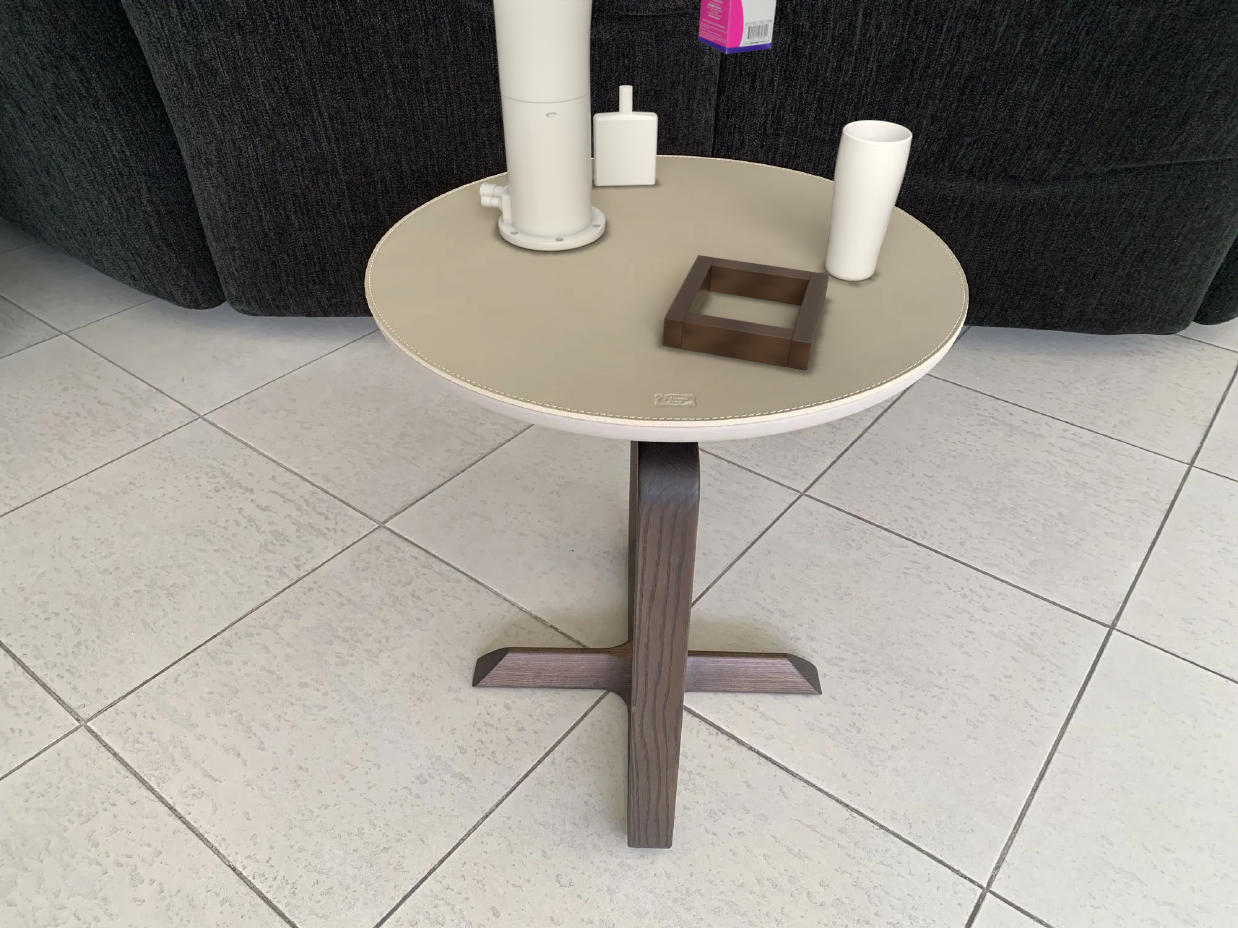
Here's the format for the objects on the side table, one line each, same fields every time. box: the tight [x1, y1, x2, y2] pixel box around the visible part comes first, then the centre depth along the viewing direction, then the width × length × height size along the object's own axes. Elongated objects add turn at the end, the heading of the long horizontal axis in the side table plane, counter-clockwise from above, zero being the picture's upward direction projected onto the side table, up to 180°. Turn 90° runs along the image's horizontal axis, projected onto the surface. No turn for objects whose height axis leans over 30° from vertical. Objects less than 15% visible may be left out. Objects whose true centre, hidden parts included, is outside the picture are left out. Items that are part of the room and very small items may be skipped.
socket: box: [662, 254, 830, 371], centre depth 81 cm, size 14×14×3 cm
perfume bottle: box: [592, 84, 659, 187], centre depth 105 cm, size 8×2×12 cm, turn 95°
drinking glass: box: [824, 119, 913, 282], centre depth 86 cm, size 7×7×15 cm
